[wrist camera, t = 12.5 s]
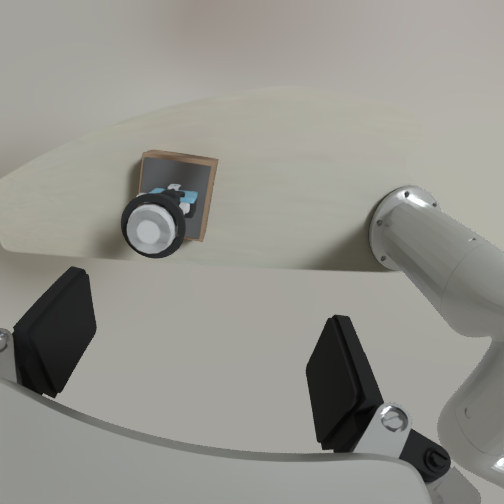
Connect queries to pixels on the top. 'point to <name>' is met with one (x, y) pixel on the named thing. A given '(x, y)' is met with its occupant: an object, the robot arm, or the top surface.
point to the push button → (158, 220)
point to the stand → (181, 182)
